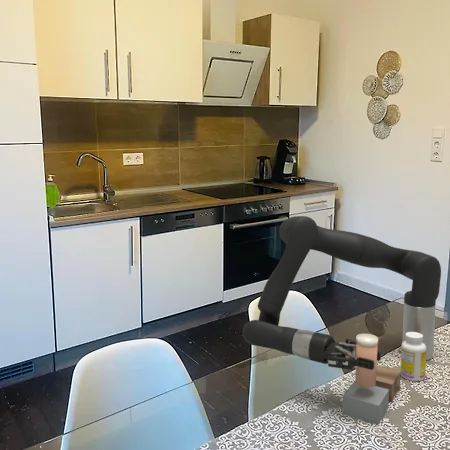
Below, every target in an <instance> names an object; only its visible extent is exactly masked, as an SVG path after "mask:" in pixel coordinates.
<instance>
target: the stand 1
mask: <svg viewBox="0 0 450 450" xmlns="http://www.w3.org/2000/svg"><path fill="white" fill-rule="evenodd" d="M389 403H390V402H389V389H385V388H381V387H377V386H374V387H371V388H365V387H361V386H359V385H357V384H356V383H355V380H354V381H352V383H351V384H350V386H349V387H348V388H347V389H346V391H345V392H344V393H343V395H342V415H344V416H347V417H350V418H354V419H357V420H361V421H365V422H367V423H370V424H375V425H378V426H379V425H380V423H381V422H382V419H383V418H384V416H385V414H386V413H387V411H388V409H389Z"/></svg>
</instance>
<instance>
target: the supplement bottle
mask: <svg viewBox="0 0 450 450" xmlns="http://www.w3.org/2000/svg"><path fill="white" fill-rule="evenodd" d="M405 338H406V341H404V342H403V341H402V343H401V346H400V347H401V350H400V352H401V353H400V355H401V356H400V357H401V358H400V359H401V360H400V371H401V377H402V378H404V379H405V380H408V381H412V382H420V381H423V380H425V378H426V367H427V366H426V363H427V360H426V346H425V344H424V343H422V340H423V335H422V334H420V333H417V332H407V333H406V334H405Z"/></svg>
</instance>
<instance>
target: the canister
mask: <svg viewBox="0 0 450 450" xmlns="http://www.w3.org/2000/svg"><path fill="white" fill-rule="evenodd" d="M355 338H356V339H355V341H356V342H357V344H356V356H357V357H358V359H359V357H361V358H365V359H370V360H373V361H374V369H373V370H370V369H366V368H362V367H355V376H354V377H355V380H354V381H355V383H356V384H357V385H359V386H361V387H365V388H371V387H374V386H375V385H376V369H377V366H378V365H377V363H378V361H377V351H378V345H379V337H378V336H376V335H374V334H371V333H359V334H357V335H356V337H355Z"/></svg>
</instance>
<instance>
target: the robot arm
mask: <svg viewBox="0 0 450 450" xmlns="http://www.w3.org/2000/svg"><path fill="white" fill-rule="evenodd" d="M278 231H279V232H278V233H279V236H280V237H279V238H281V240H282V241H283V243H285V249H284V252H283V254H282V256H281V259H280V260H279V262H278V264H277V266H276V267H275V269H273V271H272V273H271V274H270V276H269V278H268V279H267V281H266V283H265V285H264V288H263V290H262V292H261V294H260V297H259V300H258V302H257V309H258V310H259V316H258V319H252V320H249V321H247V322H246V323H245V324H244V325H243V328H242V337H243V340H245V341H246V342H247V343H248V344H249V345H252V346H256V347H260V348H265V349H272V350H276V351H279V352H281V353H285V354H289V355H291V356H292V355H293V356H296V357H299V358H301V359H303V360H304V359H305V360H307V361H313V362H315V363H319V364H324V365H327V366H328V367H329V368H336V369H343V370H351V371H352V370H354V368H356V367H362V368H366V369H370V370H373V369H374V361H373V360H370V359H365V358H361V357H359V359H358V357H357V356H356V344H357V342H356V340H353V339H350V338H345V342H344V341H343V342H341V341H340V342H338V341H335V339H334V337H333V336H332V335H331V334H326V333H321V332H318V331H312V330H308V329H299V328H295V327H290V326H281V325H280V319H281V312H282V311H283V309H284V305H285V303H286V300H287V297H288V295H289V292H290V290H291V288H292V285H293V283H294V280H295V279H296V277H297V274H298V272H299V270H300V268H301V267H302V265H303V263H304V262H305V259H306V258H307V256H308V254H309V252H310V251H311V250H312V251H317V252H320V253H322V254H326V255H327V256H331V257H333V258H336V259H338V260H341V261H344V262H347V263H350V264H354V265H356V266H361V267H363V268H371V269H385V270H389V271H392V272H395V273H396V274H399V275H402V276H403V277H406V278H407V279H410V280H411V281H412V282H411V285H412V286H411V290H408V291H406V292H405V293H404V296H403V317H402V318H403V319H402V320H403V321H402V324H403V325H402V343H403V342H404V341H406V338H405V334H406V333H407V332H417V333H420V334H422V335H423V340H422V343H424V344H425V346H426V361H429V360H431V359H433V357H434V347H435V346H434V344H435V328H436V327H435V325H436V324H435V321H436V306H437V305H436V303H437V298H438V296H439V295H440V287H441V279H442V278H441V277H442V268H441V267H442V266H441V263H440V261H439V259H438V258H437V257H435V256H432V254H431V255H430V254H427V253H425V252H422V251H418V250H413V249H412V250H411V249H404V248H399V247H395V246H392V245H389V244H388V243H385V242H384V241H381V240H378V239H377V238H374V237H371V236H369V235H368V236H367V235H364V234H361V233H357V232H353V231H347V230H340V229H339V230H338V229H330V228H326V227H323V226H319V225H317V223H316V221H315V220H314V219H313V218H312V217H309V216H305V215H301V216H300V215H298V216H296V215H295V216H290V217H288V218H286V219H285V220H283V222H282V223H281V225H280V226H279V230H278ZM381 360H382V353H381V352H380V351H378V350H377V362H380V361H381Z"/></svg>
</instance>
